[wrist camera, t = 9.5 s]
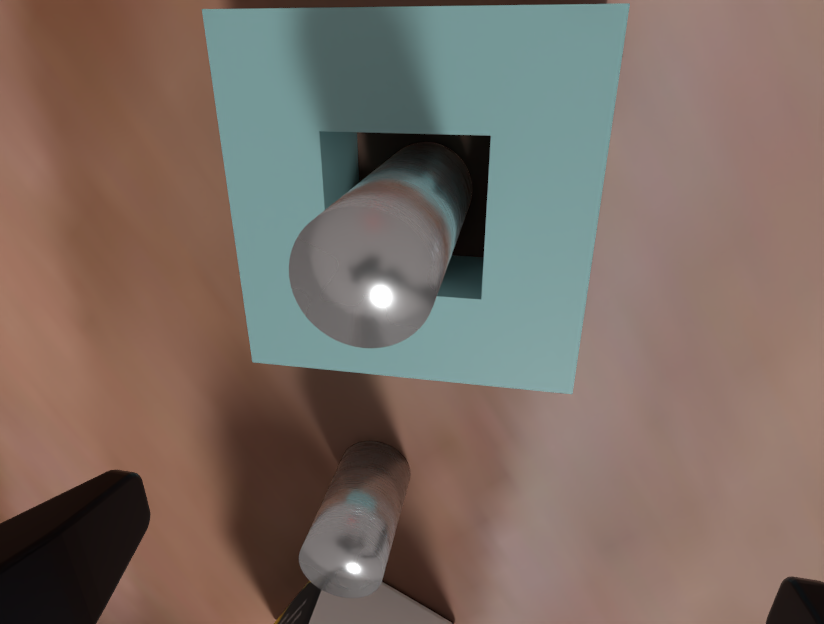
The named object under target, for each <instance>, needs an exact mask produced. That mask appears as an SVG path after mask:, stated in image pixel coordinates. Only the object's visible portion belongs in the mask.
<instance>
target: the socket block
mask: <svg viewBox="0 0 824 624" xmlns="http://www.w3.org/2000/svg"><path fill="white" fill-rule="evenodd" d="M629 6H630V4H559V5H485V6H410V7H335V8H261V9H202V13H203V20H204V27H205V34H206V41H207V48H208V55H209V62H210V69H211V76H212V83H213V90H214V97H215V104H216V111H217V118H218V125H219V132H220V139H221V146H222V153H223V160H224V167H225V174H226V181H227V188H228V195H229V202H230V209H231V216H232V223H233V230H234V237H235V244H236V251H237V258H238V265H239V272H240V279H241V286H242V293H243V300H244V307H245V314H246V321H247V328H248V335H249V342H250V349H251V356H252V362H255V363H265V364H275V365H285V366H295V367H305V368H315V369H325V370H335V371H345V372H355V373H365V374H375V375H385V376H395V377H405V378H415V379H425V380H435V381H445V382H455V383H465V384H475V385H485V386H495V387H505V388H515V389H525V390H535V391H545V392H555V393H565V394H572V393H573V387H574V380H575V373H576V366H577V359H578V353H579V346H580V339H581V332H582V325H583V319H584V312H585V305H586V298H587V291H588V285H589V278H590V271H591V264H592V257H593V251H594V244H595V237H596V230H597V223H598V217H599V210H600V203H601V196H602V189H603V182H604V176H605V169H606V162H607V155H608V148H609V142H610V135H611V128H612V121H613V114H614V108H615V101H616V94H617V87H618V80H619V74H620V67H621V60H622V53H623V46H624V40H625V33H626V26H627V19H628V12H629ZM357 132H368V133H407V134H446V135H486V136H491V141H490V158H489V176H488V193H487V210H486V227H485V245H484V257H471V256H455V255H452V256H451V258H450V261H449V264H448V267H447V269H446V272H445V275H444V278H443V280H442V283H441V286H440V289H439V291H438V294H437V297H436V300H435V303H434V305H433V308H432V310H431V313H430V315H429V316H428V318H427V320H426V321H425V323H424V324H423V325H422V326H421V328H420V329H419V330H417V331H416V332H415V333H414V334H413V335H412V336H410V337H409V338H407V339H406V340H404V341H402V342H400V343H397V344H394V345H391V346H387V347H383V348H360V347H354V346H350V345H346V344H344V343H341V342H339V341H336V340H334V339H333V338H331V337H329V336H327V335H326V334H324V333H323V332H321V331H320V330H319V329H318V328H317V327H315V326H314V325H313V324H312V323H311V322H310V321H309V319H308V318H307V317H306V316H305V315H304V313H303V312H302V310H301V309H300V307H299V305H298V304H297V302H296V299H295V297H294V295H293V292H292V289H291V285H290V279H289V259H290V254H291V250H292V248H293V245H294V243H295V240H296V239H297V237H298V235H299V234H300V232H301V231H302V230H303V229H304V227H305V226H306V225H307V224H309V223H310V222H311V221H312V220H313V219H314V218H316V217H317V216H318V215H319V214H321V213H322V212H323V211H324V210H326V209H327V208H328V207H329V206H331V205H332V204H333V203H334V202H336V201H337V200H338V199H339V198H341V197H342V196H343V195H344V194H346V193H347V192H348V191H349V190H351V189H352V188H353V187H354V186H356V185H357V184H358V183H359V169H358V145H357Z"/></svg>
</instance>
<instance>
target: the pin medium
mask: <svg viewBox="0 0 824 624" xmlns="http://www.w3.org/2000/svg"><path fill="white" fill-rule="evenodd" d="M471 199H472V180H471V176H470V173H469V171H468V168H467V167H466V165H465V163H464V162H463V161H462V159H461V158H460V157H459V156H458V155H457V154H456V153H455V152H453V151H452V150H451V149H449V148H447V147H445V146H443V145H440V144H437V143H432V142H419V143H414V144H411V145H408V146H406V147H404V148H402V149H401V150H399V151H398V152H397V153H395V154H394V155H393V156H392V157H390V158H389V159H388V160H387V161H385V162H384V163H383V164H382V165H380V166H379V167H378V168H377V169H375V170H374V171H373V172H372V173H370V174H369V175H368V176H367V177H365V178H364V179H363V180H362V181H360V182H359V183H358V184H357V185H356V186H354V187H353V188H352V189H351V190H349V191H348V192H347V193H346V194H344V195H343V196H342V197H341V198H339V199H338V200H337V201H336V202H334V203H333V204H332V205H331V206H329V207H328V208H327V209H326V210H324V211H323V212H322V213H321V214H319V215H318V216H317V217H316V218H314V219H313V220H312V221H311V222H310V223H309V224H307V225H306V226H305V227H304V229H303V230H302V231H301V232H300V234H299V235H298V237H297V239H296V240H295V243H294V245H293V248H292V250H291V254H290V259H289V279H290V285H291V289H292V292H293V295H294V297H295V299H296V302H297V304H298V305H299V307H300V309H301V310H302V312H303V313H304V315H305V316H306V317H307V318H308V319H309V321H310V322H311V323H312V324H313V325H314V326H315V327H317V328H318V329H319V330H320V331H321V332H323V333H324V334H326V335H327V336H329V337H331V338H333V339H334V340H336V341H339V342H341V343H344V344H346V345H350V346H354V347H360V348H383V347H387V346H391V345H394V344H397V343H400V342H402V341H404V340H406V339H407V338H409V337H410V336H412V335H413V334H414V333H415V332H416V331H417V330H419V329H420V328H421V326H422V325H423V324H424V323H425V321H426V320H427V318H428V316H429V315H430V313H431V310H432V308H433V305H434V303H435V300H436V297H437V294H438V291H439V289H440V286H441V283H442V280H443V278H444V275H445V272H446V269H447V267H448V264H449V261H450V258H451V256H452V253H453V250H454V247H455V244H456V242H457V239H458V236H459V233H460V231H461V228H462V225H463V222H464V220H465V217H466V214H467V211H468V209H469V206H470V203H471Z"/></svg>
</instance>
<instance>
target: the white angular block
mask: <svg viewBox="0 0 824 624" xmlns="http://www.w3.org/2000/svg"><path fill="white" fill-rule="evenodd" d="M274 624H453V623H452V622H450V621H448V620H447V619H445V618H443V617H442V616H440V615H438V614H437V613H435V612H433V611H431V610H430V609H428V608H426V607H425V606H423V605H421V604H420V603H418V602H416V601H414V600H413V599H411V598H409V597H408V596H406V595H404V594H403V593H401V592H399V591H397V590H396V589H394V588H392V587H391V586H389V585H387V584H386V583H384V582H382V583H381V585H380V586H379V588H378V589H377V590H376V591H375V592H373V593H372V594H370V595H368V596H365V597H361V598H343V597H338V596H335V595H332V594H329V593H327V592H325V591H323V590H321V589H319V588H318V587H316V586H315V585H314V584H313V583H312V582H310V581H309V582H308V583H307V584H306V585H305V587H304V588H303V589H302V590H301V591H300V593H299V594H298V595H297V596H296V597H295V599H294V600H293V601H292V602H291V603H290V605H289V606H288V607H287V608H286V609H285V611H284V612H283V613H282V614H281V615H280V617H279V618H278V619H277V620H276V621H275V623H274Z"/></svg>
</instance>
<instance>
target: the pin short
mask: <svg viewBox="0 0 824 624" xmlns="http://www.w3.org/2000/svg"><path fill="white" fill-rule="evenodd" d="M409 480H410V468H409V465H408V463H407V461H406V459H405V458H404V457H403V456H402V455H401V453H399V452H398V451H397V450H396V449H394V448H393V447H391V446H389V445H387V444H384V443H381V442H376V441H364V442H359V443H356V444H354V445H352V446H351V447H350V448H348V449H347V450H346V452H345V453H344V455H343V457H342V460H341V462H340V464H339V466H338V468H337V471H336V473H335V475H334V477H333V479H332V482H331V484H330V486H329V488H328V490H327V493H326V495H325V497H324V499H323V501H322V504H321V506H320V508H319V510H318V512H317V515H316V517H315V519H314V521H313V524H312V526H311V528H310V530H309V532H308V535H307V537H306V539H305V541H304V543H303V546H302V548H301V550H300V553H299V563H300V567H301V569H302V571H303V573H304V574H305V576H306V577H307V578H308V579H309V581H310V582H312V583H313V584H314V585H315V586H316V587H318V588H319V589H321V590H323V591H325V592H327V593H329V594H332V595H335V596H338V597H343V598H361V597H365V596H368V595H370V594H372V593H373V592H375V591H376V590H377V589H378V588H379V586H380V585H381V583H382V579H383V576H384V572H385V568H386V565H387V561H388V557H389V554H390V550H391V546H392V543H393V539H394V535H395V532H396V528H397V524H398V521H399V517H400V513H401V510H402V506H403V502H404V499H405V495H406V491H407V488H408V484H409Z"/></svg>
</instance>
